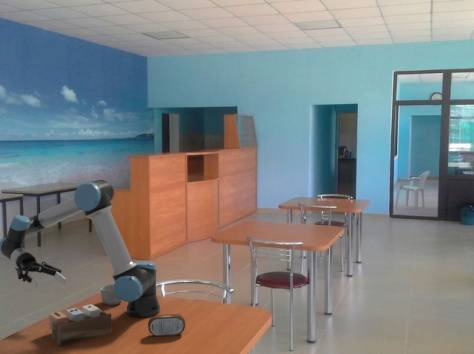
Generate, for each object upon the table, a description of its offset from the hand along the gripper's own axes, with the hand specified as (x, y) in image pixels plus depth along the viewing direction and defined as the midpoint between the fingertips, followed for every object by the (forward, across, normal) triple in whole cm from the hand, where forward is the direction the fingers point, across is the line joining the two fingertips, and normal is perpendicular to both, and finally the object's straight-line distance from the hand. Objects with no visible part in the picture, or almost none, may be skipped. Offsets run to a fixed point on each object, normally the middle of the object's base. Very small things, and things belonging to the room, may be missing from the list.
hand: (51, 283), depth 215 cm
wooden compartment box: (+22, -5, -12) cm, 26 cm away
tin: (+47, -24, -1) cm, 53 cm away
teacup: (+1, -40, -14) cm, 43 cm away
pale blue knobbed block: (+15, -6, -12) cm, 20 cm away
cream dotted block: (+16, -13, -10) cm, 23 cm away
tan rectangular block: (+14, +1, -14) cm, 19 cm away
